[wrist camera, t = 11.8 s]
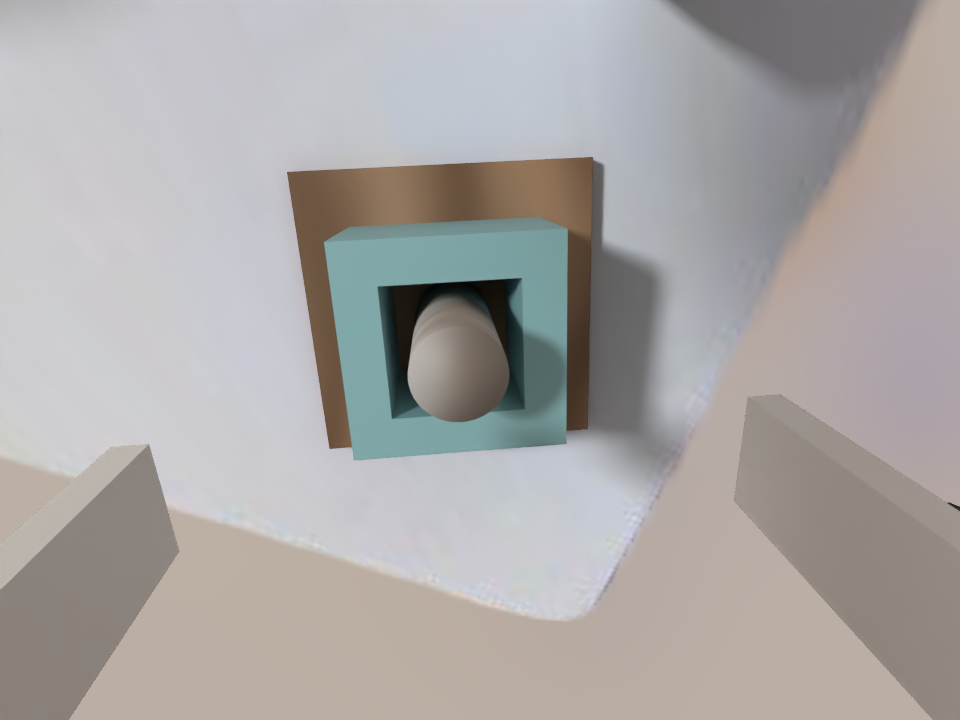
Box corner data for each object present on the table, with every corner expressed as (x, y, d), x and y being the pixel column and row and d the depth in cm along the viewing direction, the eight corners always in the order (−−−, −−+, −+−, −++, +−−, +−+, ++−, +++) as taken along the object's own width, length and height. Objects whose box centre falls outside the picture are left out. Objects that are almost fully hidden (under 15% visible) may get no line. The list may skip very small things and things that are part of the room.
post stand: (332, 441, 30) (285, 561, 21) (291, 172, 25) (207, 170, 16) (583, 422, 31) (647, 530, 21) (588, 157, 26) (671, 148, 17)
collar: (370, 403, 28) (354, 460, 23) (349, 227, 26) (323, 242, 20) (541, 391, 29) (566, 443, 23) (539, 216, 26) (567, 228, 20)
